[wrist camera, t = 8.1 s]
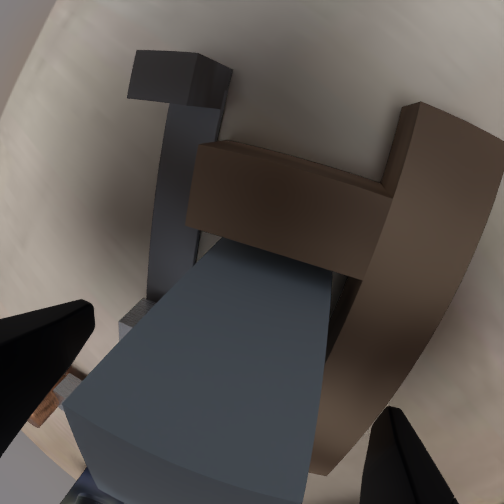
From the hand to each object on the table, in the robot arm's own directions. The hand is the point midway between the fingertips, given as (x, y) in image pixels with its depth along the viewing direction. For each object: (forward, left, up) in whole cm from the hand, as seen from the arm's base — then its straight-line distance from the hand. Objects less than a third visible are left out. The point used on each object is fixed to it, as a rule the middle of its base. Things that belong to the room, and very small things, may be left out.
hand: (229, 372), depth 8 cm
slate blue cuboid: (0, 0, -5) cm, 5 cm away
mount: (-3, 0, -5) cm, 6 cm away
